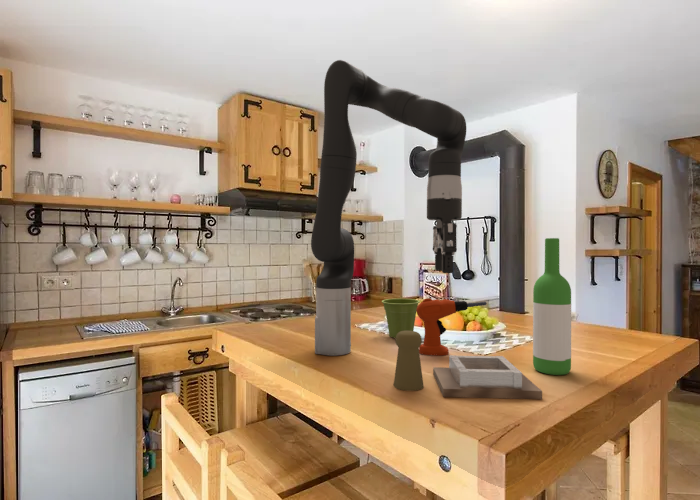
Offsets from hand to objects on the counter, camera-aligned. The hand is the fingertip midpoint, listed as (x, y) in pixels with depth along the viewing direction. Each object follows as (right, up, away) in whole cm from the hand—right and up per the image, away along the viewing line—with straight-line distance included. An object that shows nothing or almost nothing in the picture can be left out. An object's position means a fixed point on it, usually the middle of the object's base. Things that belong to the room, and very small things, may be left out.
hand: (443, 271), depth 92 cm
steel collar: (+6, -21, -8) cm, 23 cm away
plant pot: (-5, -23, +38) cm, 45 cm away
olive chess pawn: (-9, -23, -8) cm, 26 cm away
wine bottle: (+25, -23, +2) cm, 34 cm away
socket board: (+6, -23, -8) cm, 25 cm away
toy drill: (+6, -23, +17) cm, 29 cm away
